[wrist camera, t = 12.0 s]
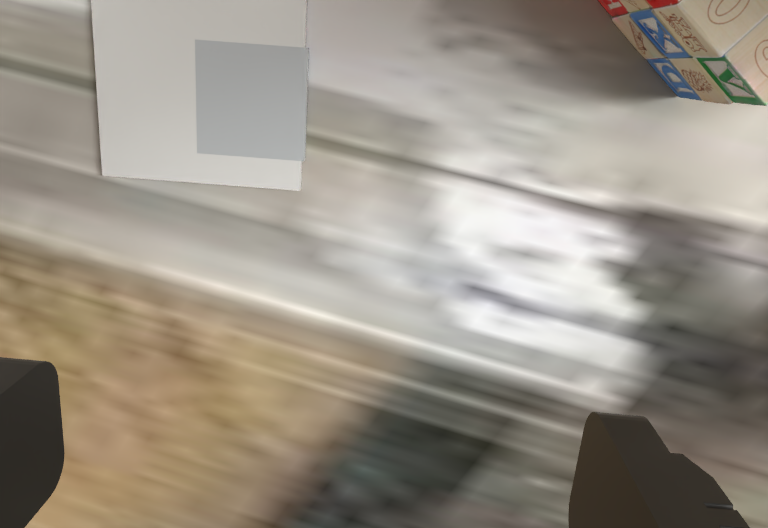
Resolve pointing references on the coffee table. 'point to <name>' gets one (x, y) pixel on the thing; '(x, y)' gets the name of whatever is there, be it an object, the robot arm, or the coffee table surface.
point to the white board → (202, 90)
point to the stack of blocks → (701, 45)
